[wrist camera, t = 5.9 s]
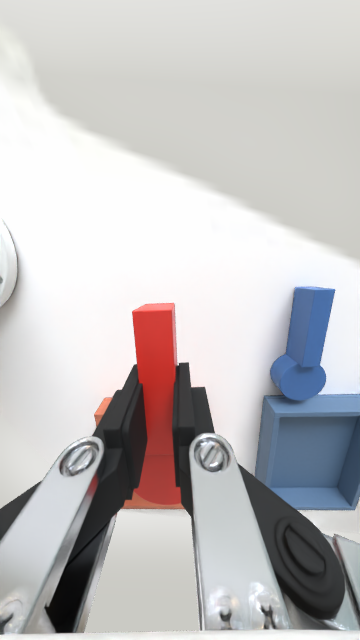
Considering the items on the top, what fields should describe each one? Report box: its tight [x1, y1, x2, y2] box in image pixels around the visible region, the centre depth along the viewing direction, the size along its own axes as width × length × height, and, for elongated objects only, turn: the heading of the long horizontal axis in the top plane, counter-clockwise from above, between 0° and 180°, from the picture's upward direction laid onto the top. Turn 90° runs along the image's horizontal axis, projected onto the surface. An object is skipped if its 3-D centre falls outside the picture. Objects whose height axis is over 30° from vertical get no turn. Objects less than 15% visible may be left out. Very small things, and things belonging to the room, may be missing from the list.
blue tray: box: [255, 394, 360, 510], centre depth 20 cm, size 15×11×2 cm
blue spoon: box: [270, 287, 335, 400], centre depth 16 cm, size 11×4×3 cm, turn 2°
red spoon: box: [132, 303, 181, 505], centre depth 9 cm, size 11×4×3 cm, turn 2°
